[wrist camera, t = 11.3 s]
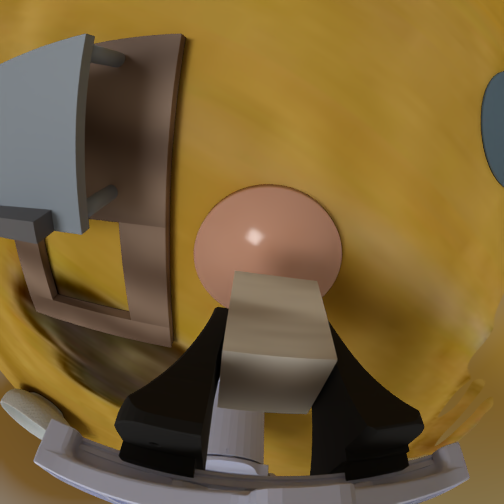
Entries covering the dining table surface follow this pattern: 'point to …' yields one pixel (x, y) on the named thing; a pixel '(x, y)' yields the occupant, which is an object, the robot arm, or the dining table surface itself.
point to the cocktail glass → (494, 125)
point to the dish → (266, 239)
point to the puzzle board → (126, 188)
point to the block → (275, 345)
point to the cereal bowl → (31, 411)
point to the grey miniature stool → (48, 140)
